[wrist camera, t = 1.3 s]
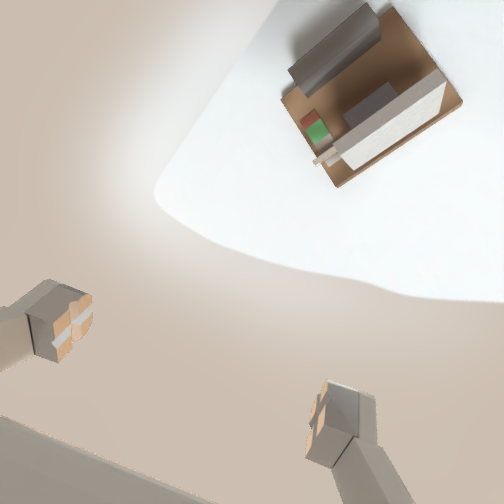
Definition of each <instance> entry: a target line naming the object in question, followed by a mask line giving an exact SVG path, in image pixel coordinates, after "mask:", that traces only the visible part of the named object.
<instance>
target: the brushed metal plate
mask: <svg viewBox="0 0 504 504" xmlns="http://www.w3.org/2000/svg"><path fill="white" fill-rule="evenodd" d="M446 82H447V80H446V79H445V77H444V76H443V75H442V73H441V72H440V71H439V69H438V68H437V69H435V70H434V71H433V72H431V73H430V74H428V75H427V76H426V77H424V78H423V79H422V80H420V81H419V82H417V83H416V84H415V85H413V86H412V87H411V88H409V89H408V90H406V91H405V92H404V93H402V94H401V95H399V96H398V95H397V93H396V92H395V91H394V89H393V88H392V86H391V85H390V84H389V82H387V83H385V84H384V85H383V86H381V87H380V88H379V89H377V90H376V91H375V92H373V93H372V94H371V95H369V96H368V97H367V98H365V99H364V100H363V101H361V102H360V103H359V104H357V105H356V106H355V107H353V108H352V109H351V110H349V111H348V112H347V113H345V114H344V115H343V117H344V119H345V120H346V122H347V124H348V125H349V127H350V128H351V131H350V132H348V133H347V134H345V135H344V136H343V137H341V138H340V139H339V140H337V141H336V142H334V143H333V147H331V148H330V149H328V150H327V151H326V152H324V153H323V154H322V155H320V156H319V157H317V158H316V159H315V160H313V163H314V164H315V166H316V167H317V166H318V165H319V164H321V163H322V162H324V161H325V160H327V159H328V158H329V157H331V156H332V155H334V154H335V153H336V152H338V153H339V155H340V156H341V157H342V158H343V159H344V161H345V162H346V163H347V164H348V165H349V166H350V167H351V168H352V169H353V171H354V170H356V169H357V168H359V167H360V166H362V165H363V164H365V163H366V162H368V161H369V160H371V159H372V158H373V157H375V156H376V155H378V154H379V153H381V152H382V151H384V150H385V149H387V148H388V147H390V146H391V145H393V144H394V143H396V142H397V141H399V140H400V139H402V138H403V137H405V136H406V135H408V134H409V133H411V132H412V131H414V130H415V129H417V128H418V127H420V126H421V125H422V124H424V123H425V122H427V121H428V120H430V119H431V118H433V117H434V116H436V115H437V114H439V110H440V106H441V102H442V98H443V94H444V90H445V86H446Z"/></svg>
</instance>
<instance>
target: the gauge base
mask: <svg viewBox="0 0 504 504" xmlns="http://www.w3.org/2000/svg"><path fill="white" fill-rule="evenodd" d="M437 68H438V66H437V65H436V64H435V62H434V61H433V60H432V58H431V57H430V56H429V54H428V53H427V52H426V50H425V49H424V47H423V46H422V45H421V43H420V42H419V41H418V39H417V38H416V37H415V35H414V34H413V33H412V31H411V30H410V28H409V27H408V26H407V24H406V23H405V22H404V20H403V19H402V18H401V16H400V15H399V14H398V12H397V11H396V10H395V8H394V7H392V8H391V9H390V10H388V11H387V12H386V13H385V14H383V15H382V16H381V17H380V18H379V19H378V17H377V16H376V15H375V13H374V12H373V10H372V9H371V8H370V6H369V5H368V4H367V2H366V3H365V4H364V5H363V6H362V7H360V8H359V9H358V10H357V11H356V12H355V13H353V14H352V15H351V16H350V17H349V18H348V19H346V20H345V21H344V22H343V23H342V24H341V25H339V26H338V27H337V28H336V29H335V30H334V31H332V32H331V33H330V34H329V35H328V36H327V37H325V38H324V39H323V40H322V41H321V42H320V43H318V44H317V45H316V46H315V47H314V48H313V49H311V50H310V51H309V52H308V53H307V54H306V55H304V56H303V57H302V58H301V59H300V60H299V61H297V62H296V63H295V64H294V65H293V66H291V67H290V68H289V69H288V72H289V73H290V75H291V76H292V78H293V79H294V81H295V82H296V84H297V86H296V87H295V88H294V89H293V90H291V91H290V92H289V93H288V94H287V95H285V96H284V97H283V98H282V99H281V101H282V103H283V104H284V106H285V108H286V109H287V111H288V112H289V114H290V116H291V117H292V119H293V120H294V122H295V123H296V125H297V127H298V128H299V130H300V131H301V133H302V134H303V136H304V138H305V139H306V141H307V142H308V144H309V146H310V147H311V149H312V150H313V152H314V153H315V155H316V157H319V156H320V155H322V154H323V153H324V152H326V151H327V150H328V149H330V148H331V147H333V143H334V142H336V141H337V140H339V139H340V138H341V137H343V136H344V135H345V134H347V133H348V132H350V131H351V128H350V127H349V125H348V124H347V122H346V120H345V119H344V117H343V115H344V114H345V113H347V112H348V111H349V110H351V109H352V108H353V107H355V106H356V105H357V104H359V103H360V102H361V101H363V100H364V99H365V98H367V97H368V96H369V95H371V94H372V93H373V92H375V91H376V90H377V89H379V88H380V87H381V86H383V85H384V84H385V83H387V82H389V84H390V85H391V86H392V88H393V89H394V91H395V92H396V93H397V95H398V96H399V95H401V94H402V93H404V92H405V91H406V90H408V89H409V88H411V87H412V86H413V85H415V84H416V83H417V82H419V81H420V80H422V79H423V78H424V77H426V76H427V75H428V74H430V73H431V72H433V71H434V70H435V69H437ZM438 69H439V68H438ZM439 71H440V69H439ZM440 72H441V71H440ZM441 73H442V72H441ZM442 75H443V73H442ZM443 76H444V75H443ZM444 77H445V76H444ZM445 79H446V77H445ZM446 80H447V79H446ZM462 102H463V100H462V99H461V98H460V96H459V95H458V94H457V92H456V91H455V89H454V88H453V87H452V85H451V84H450V83H449V81H448V80H447V82H446V86H445V90H444V94H443V98H442V102H441V106H440V110H439V114H437V115H436V116H434V117H433V118H431V119H430V120H428V121H427V122H425V123H424V124H422V125H421V126H420V127H418V128H417V129H415V130H414V131H412V132H411V133H409V134H408V135H406V136H405V137H403V138H402V139H400V140H399V141H397V142H396V143H394V144H393V145H391V146H390V147H388V148H387V149H385V150H384V151H382V152H381V153H379V154H378V155H376V156H375V157H373V158H372V159H371V160H369V161H368V162H366V163H365V164H363V165H362V166H360V167H359V168H357V169H356V170H354V171H353V169H352V168H351V167H350V166H349V165H348V164H347V163H346V162H345V161H344V159H343V158H342V157H341V156H340V155H339V153H338V152H336V153H335V154H334V155H332V156H331V157H329V158H328V159H327V160H325V161H324V162H322V163H321V164H322V166H323V168H324V169H325V171H326V172H327V174H328V176H329V177H330V179H331V180H332V182H333V183H334V185H335V187H337V188H339V187H340V186H342V185H343V184H345V183H346V182H348V181H349V180H351V179H352V178H354V177H355V176H357V175H358V174H360V173H361V172H363V171H364V170H366V169H367V168H369V167H370V166H372V165H373V164H375V163H376V162H378V161H379V160H381V159H382V158H384V157H385V156H387V155H388V154H390V153H391V152H393V151H394V150H396V149H397V148H399V147H400V146H402V145H403V144H405V143H406V142H408V141H409V140H411V139H412V138H414V137H415V136H417V135H418V134H420V133H421V132H423V131H424V130H426V129H427V128H429V127H430V126H432V125H433V124H435V123H436V122H438V121H439V120H441V119H442V118H444V117H445V116H447V115H448V114H450V113H451V112H453V111H454V110H456V109H457V108H459V107H460V106H461V105H462Z"/></svg>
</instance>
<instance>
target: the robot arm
mask: <svg viewBox="0 0 504 504" xmlns="http://www.w3.org/2000/svg"><path fill="white" fill-rule="evenodd" d="M91 303H92V297H91V295H90V294H87V293H85V292H82V291H80V290H77V289H75V288H72V287H70V286H67V285H64V284H61V283H59V282H56V281H54V280H51V279H48V280H44V281H43V282H41V283H40V284H39V285H37V286H36V287H35V288H33V289H32V290H31V291H29V292H28V293H27V294H25V295H24V296H23V297H21V298H20V299H19V300H18V301H16V302H15V303H14V304H12V305H11V306H10V307H5V306H3V307H0V372H2V371H4V370H6V369H8V368H10V367H12V366H15V365H17V364H19V363H21V362H23V361H25V360H27V359H29V358H32V357H34V355H37V356H39V357H42V358H45V359H48V360H51V361H54V362H56V363H59V362H60V361H61V360H62V359H63V357H64V356H65V355H66V354H67V353H68V352H69V351H70V350H71V349H72V342H74V341H76V340H79V339H81V338H82V337H83V336H84V335H85V334H86V333H87V331H88V329H89V327H90V326H91V323H92V319H93V313H92V311H91V310H90V308H89V307H88V306H89V305H90V304H91ZM309 425H310V427H311V431H310V433H309V435H308V437H307V444H306V452H305V458H306V459H308V460H311V461H313V462H316V463H318V464H320V465H323V466H325V467H328V468H330V469H332V470H331V471H332V474H333V477H334V479H335V482H336V485H337V488H338V490H339V493H340V496H341V498H342V501H343V504H415V502H414V500H413V499H412V497H411V495H410V493H409V492H408V490H407V488H406V486H405V485H404V483H403V482H402V480H401V478H400V476H399V475H398V473H397V471H396V469H395V468H394V466H393V464H392V463H391V461H390V459H389V457H388V456H387V454H386V452H385V451H384V449H383V447H380V446H378V442H377V422H376V399H375V397H374V396H373V395H371V394H368V393H365V392H362V391H359V390H357V389H354V388H351V387H348V386H345V385H343V384H339V383H337V382H334V381H331V380H328V379H326V380H325V382H324V383H323V385H322V390H321V394H318V395H317V397H316V399H315V401H314V404H313V407H312V410H311V415H310V421H309ZM0 504H217V503H215V502H213V501H210V500H207V499H205V498H203V497H200V496H198V495H195V494H193V493H191V492H188V491H186V490H183V489H181V488H178V487H176V486H173V485H171V484H169V483H166V482H164V481H161V480H159V479H156V478H154V477H151V476H149V475H147V474H144V473H142V472H139V471H136V470H134V469H132V468H129V467H127V466H124V465H122V464H120V463H117V462H115V461H112V460H110V459H107V458H105V457H102V456H100V455H98V454H95V453H93V452H90V451H88V450H85V449H83V448H80V447H78V446H75V445H73V444H70V443H68V442H66V441H63V440H61V439H58V438H56V437H53V436H51V435H49V434H46V433H44V432H41V431H38V430H36V429H34V428H31V427H29V426H26V425H24V424H21V423H19V422H17V421H14V420H12V419H9V418H7V417H4V416H2V415H0Z"/></svg>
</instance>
